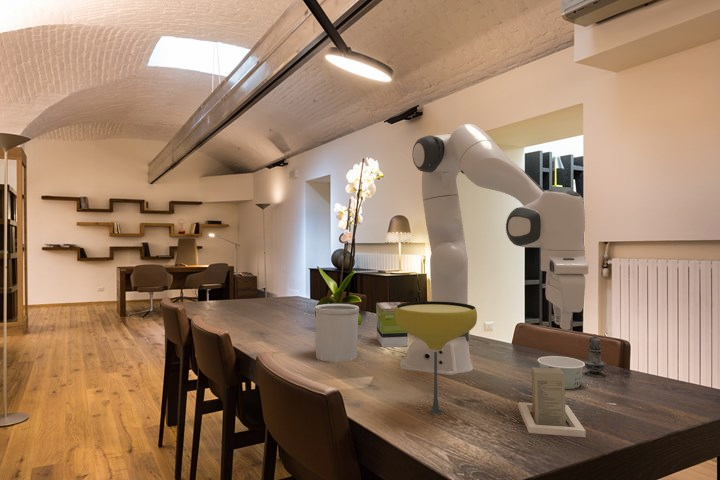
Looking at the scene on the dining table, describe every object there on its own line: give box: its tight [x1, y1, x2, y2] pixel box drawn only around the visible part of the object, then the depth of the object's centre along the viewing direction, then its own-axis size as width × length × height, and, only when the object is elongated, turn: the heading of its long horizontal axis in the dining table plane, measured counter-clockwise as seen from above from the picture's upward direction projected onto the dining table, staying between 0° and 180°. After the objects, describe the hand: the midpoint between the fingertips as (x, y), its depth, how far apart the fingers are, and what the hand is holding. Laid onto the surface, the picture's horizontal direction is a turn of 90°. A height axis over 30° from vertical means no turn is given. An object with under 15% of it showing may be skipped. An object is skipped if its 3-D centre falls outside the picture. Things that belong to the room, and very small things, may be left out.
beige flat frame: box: [518, 401, 587, 438], centre depth 101 cm, size 11×14×2 cm
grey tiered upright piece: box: [583, 333, 607, 378], centre depth 140 cm, size 6×6×12 cm
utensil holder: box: [314, 303, 360, 363], centre depth 159 cm, size 15×15×18 cm
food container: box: [537, 355, 586, 390], centre depth 130 cm, size 12×12×7 cm
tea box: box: [375, 301, 409, 348], centre depth 183 cm, size 15×10×15 cm
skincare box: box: [531, 366, 567, 427], centre depth 102 cm, size 6×4×12 cm
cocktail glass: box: [395, 300, 478, 415], centre depth 107 cm, size 18×18×25 cm
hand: (562, 326), depth 104 cm, fingers open, 4 cm apart
